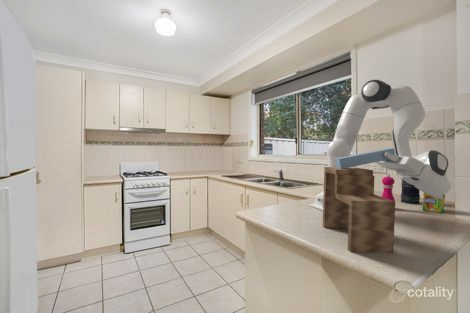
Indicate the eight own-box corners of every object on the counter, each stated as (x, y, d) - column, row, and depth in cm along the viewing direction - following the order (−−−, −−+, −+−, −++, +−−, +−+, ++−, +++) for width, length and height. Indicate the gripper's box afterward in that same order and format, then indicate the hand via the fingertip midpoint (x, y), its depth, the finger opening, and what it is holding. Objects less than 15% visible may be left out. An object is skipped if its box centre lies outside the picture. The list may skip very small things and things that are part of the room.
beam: (389, 157, 96) (387, 148, 96) (395, 158, 92) (394, 148, 92) (336, 167, 96) (335, 158, 96) (341, 168, 92) (339, 158, 92)
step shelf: (354, 226, 101) (356, 167, 100) (393, 252, 76) (396, 174, 75) (322, 226, 101) (324, 167, 100) (350, 251, 76) (353, 173, 75)
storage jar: (405, 203, 146) (406, 180, 146) (397, 200, 156) (398, 178, 155) (423, 204, 144) (424, 181, 144) (413, 201, 154) (415, 178, 154)
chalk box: (422, 210, 131) (423, 184, 130) (422, 207, 138) (423, 182, 137) (444, 213, 125) (445, 186, 124) (443, 210, 132) (445, 184, 131)
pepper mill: (389, 210, 129) (391, 175, 128) (377, 207, 136) (378, 173, 135) (397, 209, 133) (398, 174, 132) (384, 206, 139) (385, 173, 138)
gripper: (395, 162, 104) (369, 146, 104) (434, 165, 84) (401, 146, 84) (388, 174, 104) (362, 158, 104) (425, 180, 84) (392, 161, 84)
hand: (380, 153), depth 94 cm, fingers closed on beam, 4 cm apart
